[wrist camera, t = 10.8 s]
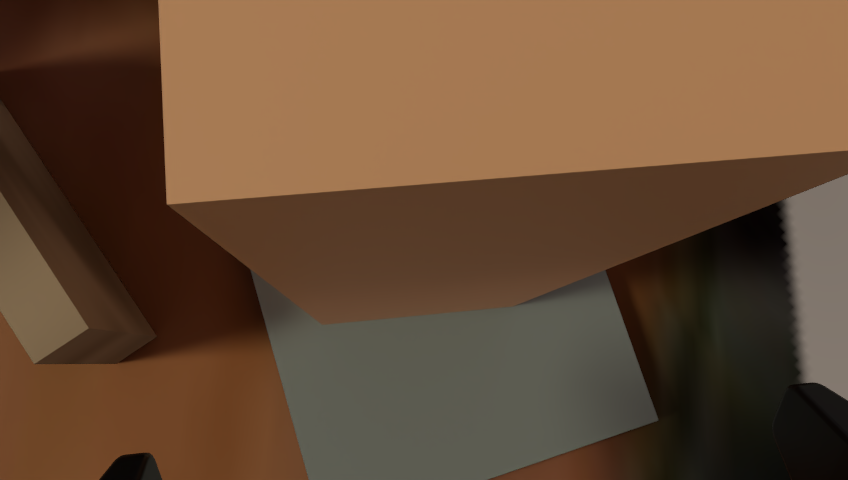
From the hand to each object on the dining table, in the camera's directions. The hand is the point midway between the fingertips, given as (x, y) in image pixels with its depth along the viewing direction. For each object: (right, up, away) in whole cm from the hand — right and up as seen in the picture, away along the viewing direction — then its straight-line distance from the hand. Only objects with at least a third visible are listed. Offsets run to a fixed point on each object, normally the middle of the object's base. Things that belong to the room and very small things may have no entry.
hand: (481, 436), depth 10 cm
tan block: (-1, +3, +9) cm, 9 cm away
